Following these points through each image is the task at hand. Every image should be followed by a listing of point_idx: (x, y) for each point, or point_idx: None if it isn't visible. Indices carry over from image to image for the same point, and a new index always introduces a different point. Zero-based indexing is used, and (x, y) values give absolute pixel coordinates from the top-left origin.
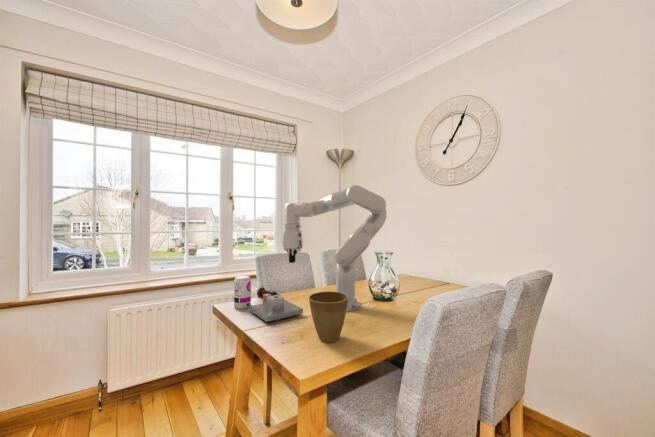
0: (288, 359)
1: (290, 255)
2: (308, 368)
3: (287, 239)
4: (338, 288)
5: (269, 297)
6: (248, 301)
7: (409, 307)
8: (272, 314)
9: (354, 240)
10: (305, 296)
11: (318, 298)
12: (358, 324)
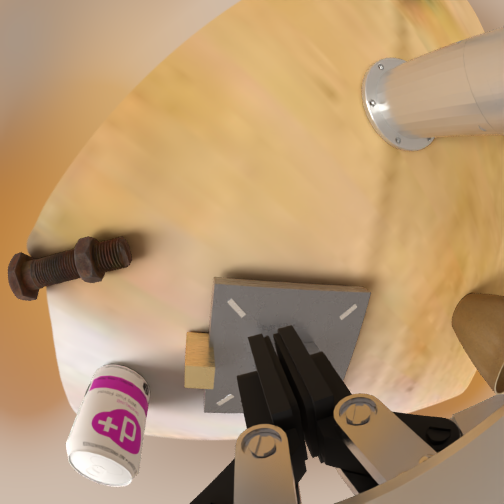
0: (439, 395)
1: (306, 456)
2: (465, 380)
3: None
4: (457, 133)
5: None
6: (144, 395)
7: (474, 23)
8: None
9: None
10: (162, 99)
11: (496, 351)
12: (480, 206)
